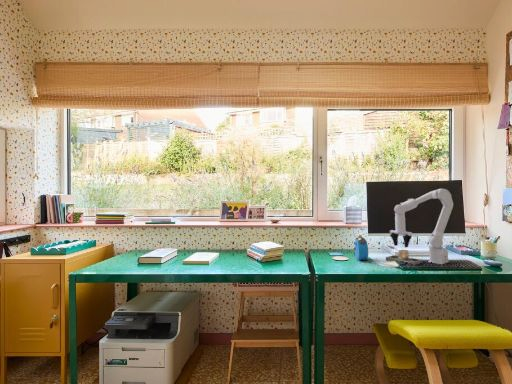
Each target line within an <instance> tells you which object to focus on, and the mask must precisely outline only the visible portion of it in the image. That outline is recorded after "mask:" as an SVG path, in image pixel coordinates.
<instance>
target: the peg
mask: <svg viewBox="0 0 512 384" xmlns="http://www.w3.org/2000/svg"><path fill="white" fill-rule="evenodd" d="M398 256H399V259H403V260H406V259H409V258H410V257H409V250H407V249H399V250H398Z"/></svg>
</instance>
